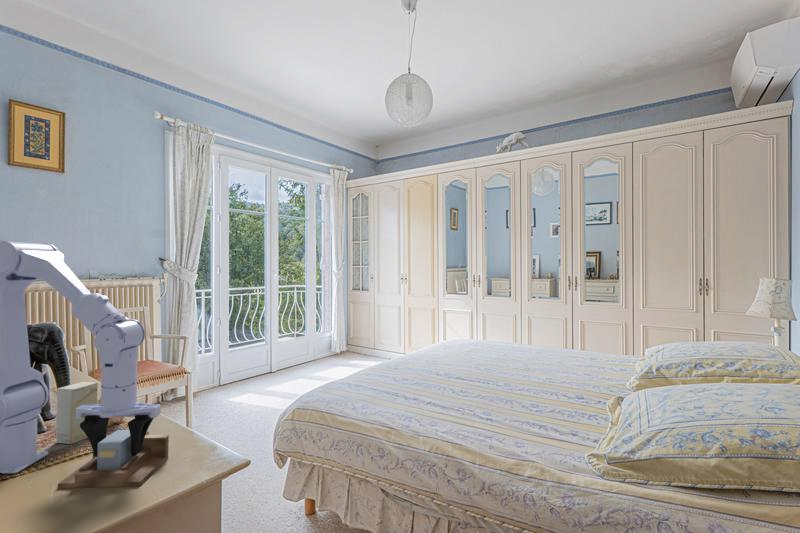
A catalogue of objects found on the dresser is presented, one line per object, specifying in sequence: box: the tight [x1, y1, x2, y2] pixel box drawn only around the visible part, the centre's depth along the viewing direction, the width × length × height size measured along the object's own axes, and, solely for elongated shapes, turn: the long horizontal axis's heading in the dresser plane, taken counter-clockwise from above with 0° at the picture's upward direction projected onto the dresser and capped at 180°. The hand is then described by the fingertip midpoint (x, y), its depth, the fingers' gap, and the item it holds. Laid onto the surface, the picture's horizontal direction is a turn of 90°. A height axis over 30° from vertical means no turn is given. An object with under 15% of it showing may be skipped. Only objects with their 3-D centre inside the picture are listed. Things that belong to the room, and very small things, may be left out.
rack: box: [57, 434, 170, 489], centre depth 78 cm, size 14×10×5 cm
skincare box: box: [55, 381, 98, 445], centre depth 92 cm, size 6×4×12 cm
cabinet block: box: [97, 429, 135, 470], centre depth 78 cm, size 4×7×6 cm, turn 5°
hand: (118, 454), depth 78 cm, fingers open, 6 cm apart
